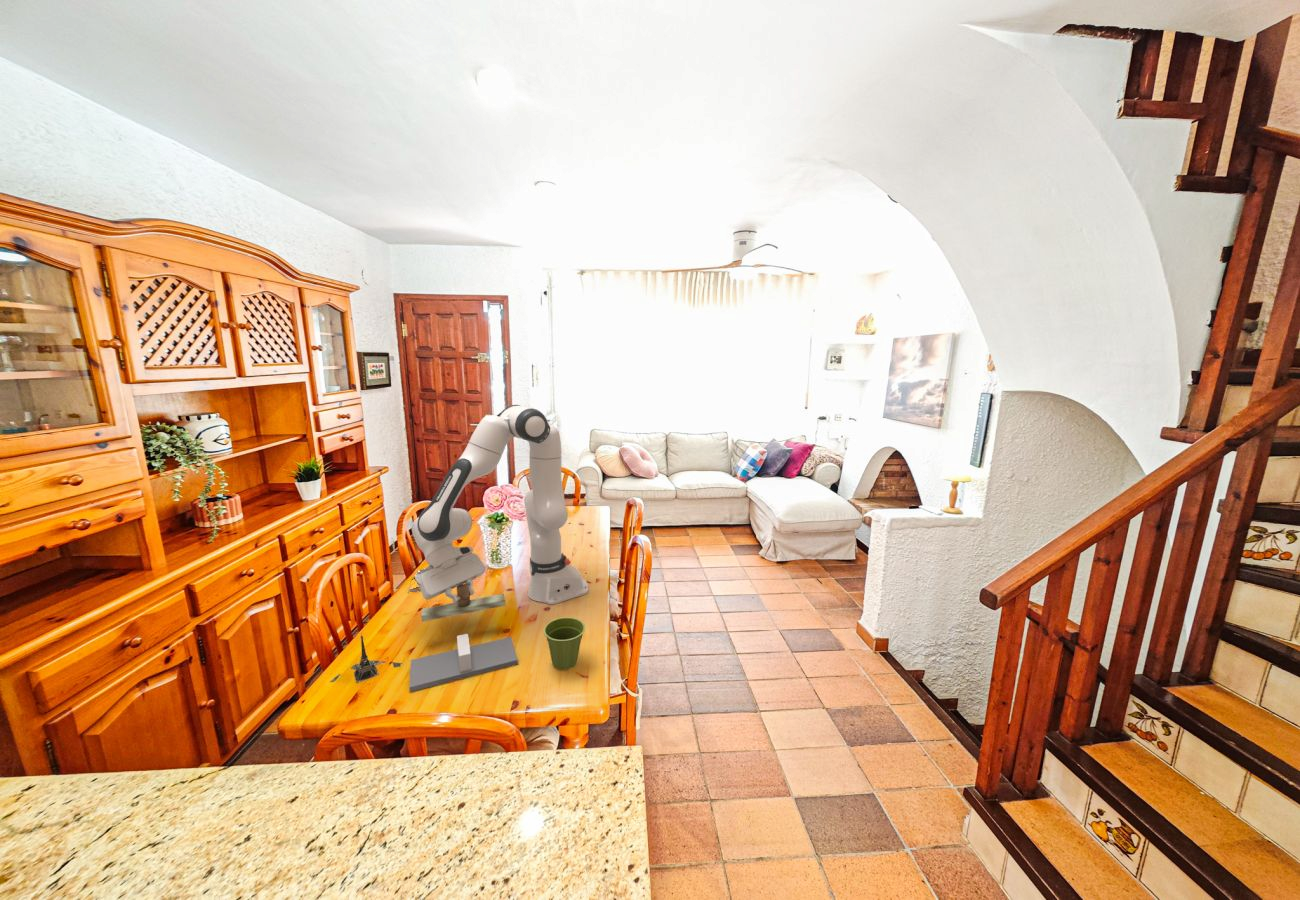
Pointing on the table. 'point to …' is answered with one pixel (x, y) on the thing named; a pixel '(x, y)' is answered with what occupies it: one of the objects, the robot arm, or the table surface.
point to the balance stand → (461, 662)
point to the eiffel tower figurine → (366, 667)
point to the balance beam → (462, 605)
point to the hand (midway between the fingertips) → (464, 597)
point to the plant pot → (564, 641)
